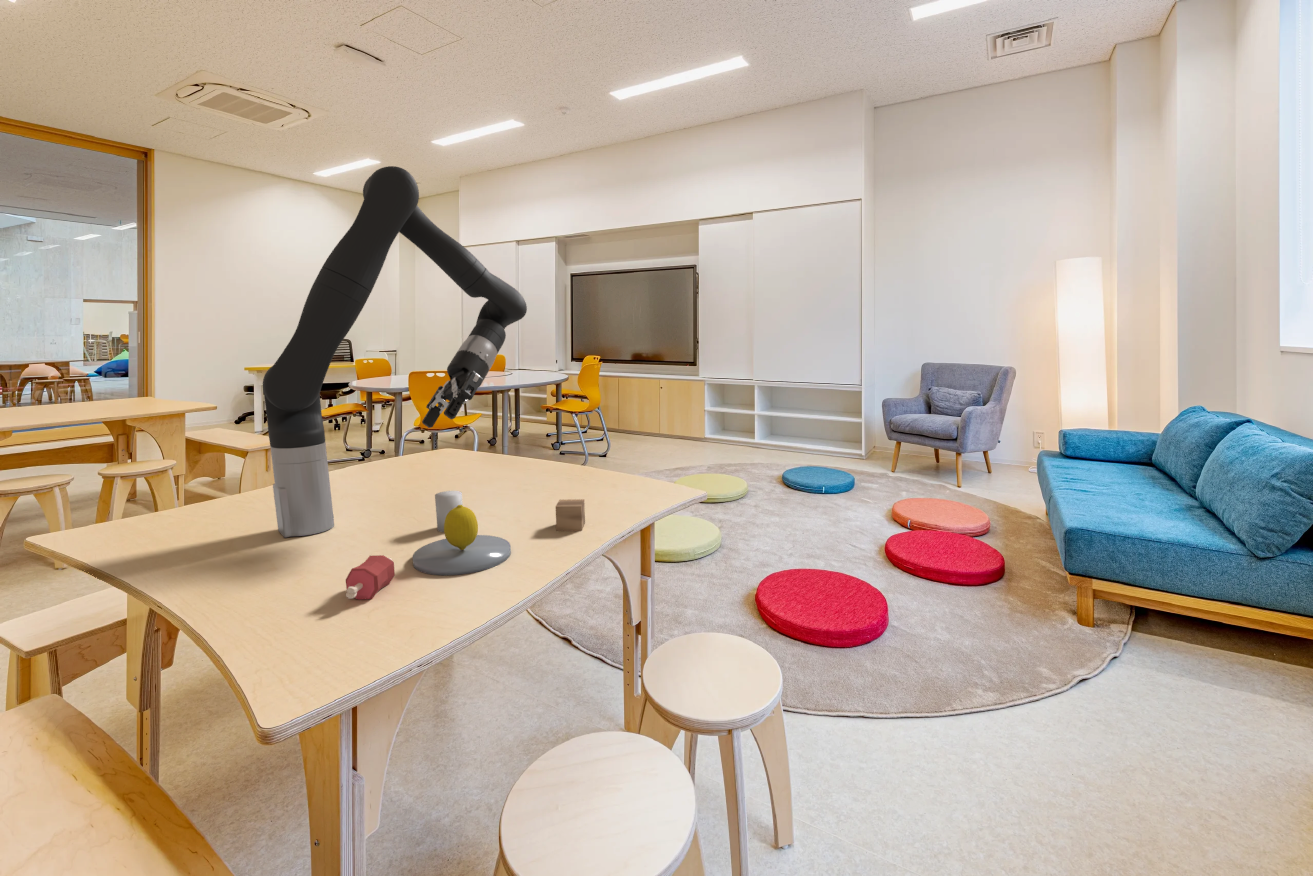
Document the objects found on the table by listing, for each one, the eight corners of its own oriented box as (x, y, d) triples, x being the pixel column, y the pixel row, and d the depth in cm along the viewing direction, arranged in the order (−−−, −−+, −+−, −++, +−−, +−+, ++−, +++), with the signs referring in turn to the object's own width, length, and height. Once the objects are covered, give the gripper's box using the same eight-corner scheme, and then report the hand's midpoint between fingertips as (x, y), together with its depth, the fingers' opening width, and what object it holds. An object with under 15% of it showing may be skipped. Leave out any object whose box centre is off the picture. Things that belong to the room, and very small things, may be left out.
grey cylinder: (443, 533, 114) (441, 498, 113) (433, 528, 118) (430, 493, 116) (468, 528, 117) (466, 494, 116) (457, 522, 121) (455, 489, 120)
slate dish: (435, 583, 90) (435, 576, 90) (399, 556, 102) (398, 549, 102) (528, 557, 101) (527, 550, 101) (485, 535, 113) (484, 529, 113)
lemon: (484, 545, 104) (482, 501, 103) (470, 556, 98) (468, 510, 97) (454, 543, 105) (451, 500, 103) (439, 554, 99) (436, 508, 98)
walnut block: (560, 523, 120) (559, 499, 119) (585, 523, 120) (584, 499, 119) (556, 531, 115) (555, 506, 114) (582, 531, 115) (581, 506, 114)
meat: (372, 571, 94) (378, 543, 93) (401, 580, 94) (408, 551, 93) (328, 605, 82) (335, 573, 81) (363, 614, 82) (369, 582, 81)
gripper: (441, 359, 128) (404, 417, 119) (477, 340, 119) (440, 401, 110) (468, 381, 132) (434, 438, 123) (505, 364, 123) (471, 425, 114)
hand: (437, 421), depth 117 cm, fingers open, 8 cm apart
